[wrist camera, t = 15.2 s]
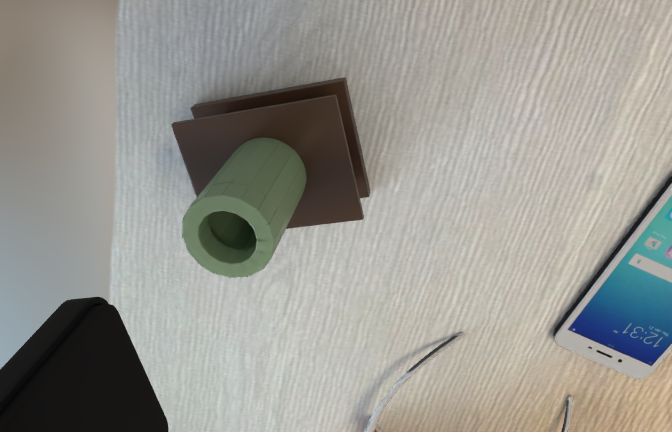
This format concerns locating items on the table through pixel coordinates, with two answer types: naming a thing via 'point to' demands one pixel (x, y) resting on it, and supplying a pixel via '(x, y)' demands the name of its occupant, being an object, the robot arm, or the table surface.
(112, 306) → the robot arm
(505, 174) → the table surface
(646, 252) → the smartphone
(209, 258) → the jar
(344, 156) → the stand
